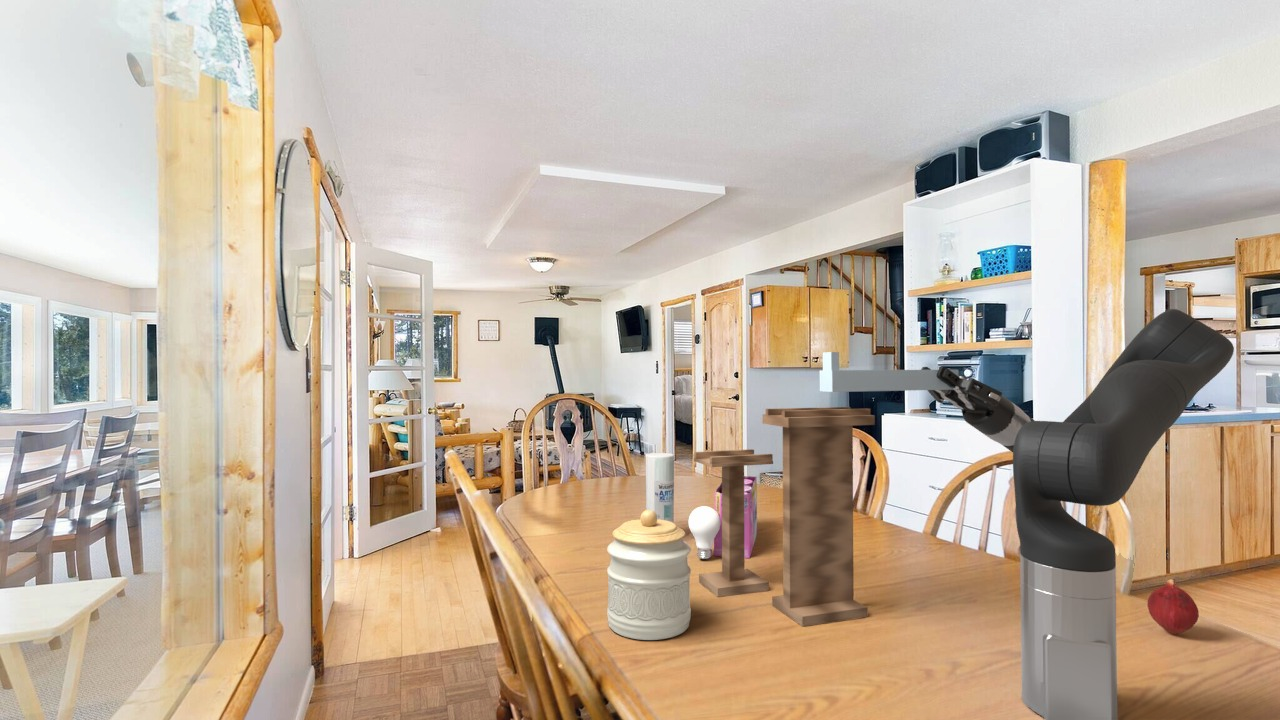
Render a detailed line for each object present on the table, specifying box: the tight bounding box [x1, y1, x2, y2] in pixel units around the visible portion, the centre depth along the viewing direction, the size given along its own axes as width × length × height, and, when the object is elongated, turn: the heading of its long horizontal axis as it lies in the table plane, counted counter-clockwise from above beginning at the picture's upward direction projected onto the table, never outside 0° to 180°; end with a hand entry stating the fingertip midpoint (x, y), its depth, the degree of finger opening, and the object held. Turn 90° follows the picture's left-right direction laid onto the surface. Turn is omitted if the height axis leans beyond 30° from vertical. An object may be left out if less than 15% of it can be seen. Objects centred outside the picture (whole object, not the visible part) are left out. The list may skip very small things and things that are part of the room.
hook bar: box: [819, 351, 959, 393], centre depth 108 cm, size 26×4×6 cm, turn 108°
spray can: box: [645, 452, 675, 524], centre depth 144 cm, size 6×6×20 cm
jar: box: [606, 509, 692, 641], centre depth 98 cm, size 13×13×18 cm
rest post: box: [693, 449, 774, 598], centre depth 115 cm, size 12×8×24 cm, turn 108°
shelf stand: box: [761, 406, 876, 627], centre depth 103 cm, size 16×9×33 cm, turn 108°
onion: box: [1146, 578, 1199, 635], centre depth 94 cm, size 6×6×8 cm
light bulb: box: [687, 505, 721, 561], centre depth 131 cm, size 7×7×11 cm
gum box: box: [713, 475, 758, 559], centre depth 143 cm, size 24×8×14 cm, turn 166°
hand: (931, 371), depth 111 cm, fingers closed on hook bar, 3 cm apart
